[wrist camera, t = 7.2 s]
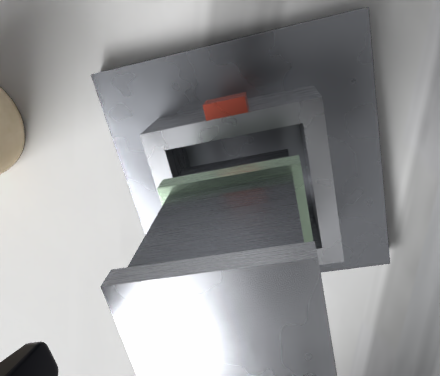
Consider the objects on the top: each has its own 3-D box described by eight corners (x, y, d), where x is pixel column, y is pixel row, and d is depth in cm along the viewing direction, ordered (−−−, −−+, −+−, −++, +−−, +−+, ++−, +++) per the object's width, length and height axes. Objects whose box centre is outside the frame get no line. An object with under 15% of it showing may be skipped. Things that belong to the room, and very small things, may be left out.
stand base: (384, 252, 21) (410, 302, 17) (168, 281, 23) (149, 330, 19) (362, 8, 16) (391, 3, 13) (99, 72, 18) (58, 84, 15)
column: (312, 248, 16) (349, 425, 9) (203, 263, 17) (157, 436, 10) (294, 139, 14) (322, 252, 7) (174, 162, 15) (94, 283, 8)
